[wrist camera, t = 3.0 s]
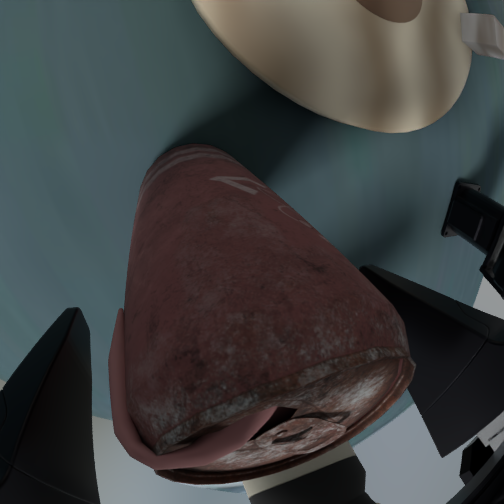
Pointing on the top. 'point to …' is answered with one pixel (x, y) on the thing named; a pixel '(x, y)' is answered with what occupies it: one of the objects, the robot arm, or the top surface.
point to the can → (242, 330)
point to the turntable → (359, 54)
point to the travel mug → (315, 482)
